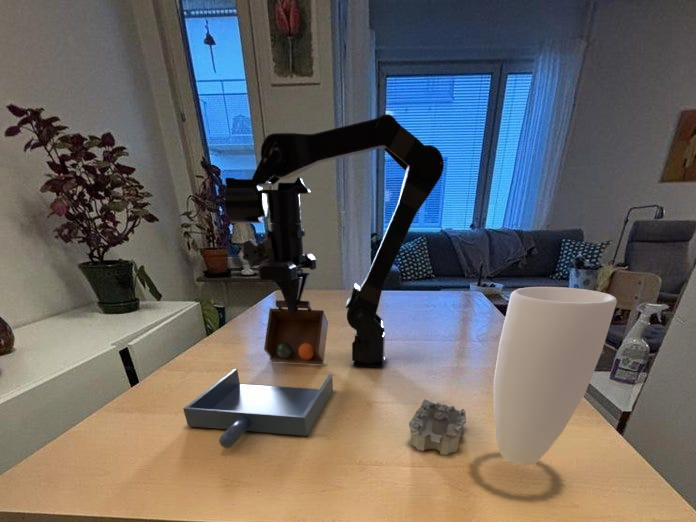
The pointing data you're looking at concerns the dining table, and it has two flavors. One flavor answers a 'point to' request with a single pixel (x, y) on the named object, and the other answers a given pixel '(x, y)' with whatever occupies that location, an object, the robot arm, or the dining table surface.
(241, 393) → the dustpan
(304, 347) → the terracotta ball
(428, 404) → the grey castle model
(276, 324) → the basket
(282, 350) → the green ball
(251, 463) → the dining table surface
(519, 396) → the cup
